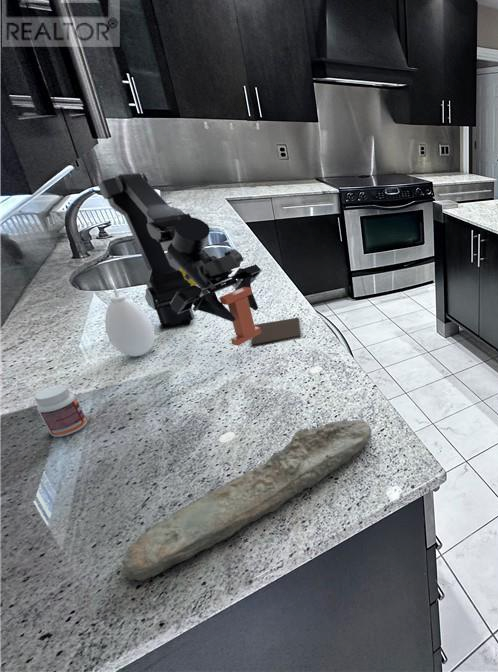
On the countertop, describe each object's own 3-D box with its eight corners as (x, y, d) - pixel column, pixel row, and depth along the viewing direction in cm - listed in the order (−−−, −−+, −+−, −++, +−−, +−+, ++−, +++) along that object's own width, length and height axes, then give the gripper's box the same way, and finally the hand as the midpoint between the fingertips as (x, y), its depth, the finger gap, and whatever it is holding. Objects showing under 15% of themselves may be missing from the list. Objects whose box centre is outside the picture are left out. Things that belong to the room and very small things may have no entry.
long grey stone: (123, 555, 56) (141, 612, 51) (107, 533, 54) (124, 590, 48) (354, 417, 80) (383, 445, 74) (350, 397, 77) (380, 425, 72)
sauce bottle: (111, 357, 96) (82, 287, 88) (150, 342, 102) (126, 276, 95) (127, 367, 92) (98, 296, 85) (167, 351, 99) (143, 284, 92)
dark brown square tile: (252, 345, 103) (252, 344, 102) (254, 326, 111) (253, 324, 111) (300, 336, 108) (300, 335, 107) (298, 318, 116) (298, 317, 116)
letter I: (231, 344, 93) (218, 297, 88) (254, 331, 98) (244, 286, 93) (239, 346, 92) (226, 299, 87) (262, 333, 98) (252, 288, 93)
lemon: (206, 286, 134) (200, 263, 130) (192, 292, 129) (185, 269, 125) (191, 284, 134) (184, 262, 131) (176, 291, 129) (169, 268, 126)
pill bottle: (93, 423, 76) (76, 387, 73) (61, 440, 72) (41, 403, 69) (77, 416, 78) (60, 380, 74) (44, 433, 74) (24, 396, 70)
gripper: (163, 254, 78) (221, 315, 80) (246, 230, 95) (293, 281, 97) (146, 285, 84) (201, 341, 85) (228, 257, 100) (273, 305, 102)
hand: (245, 314), depth 92 cm, fingers closed on letter I, 5 cm apart
